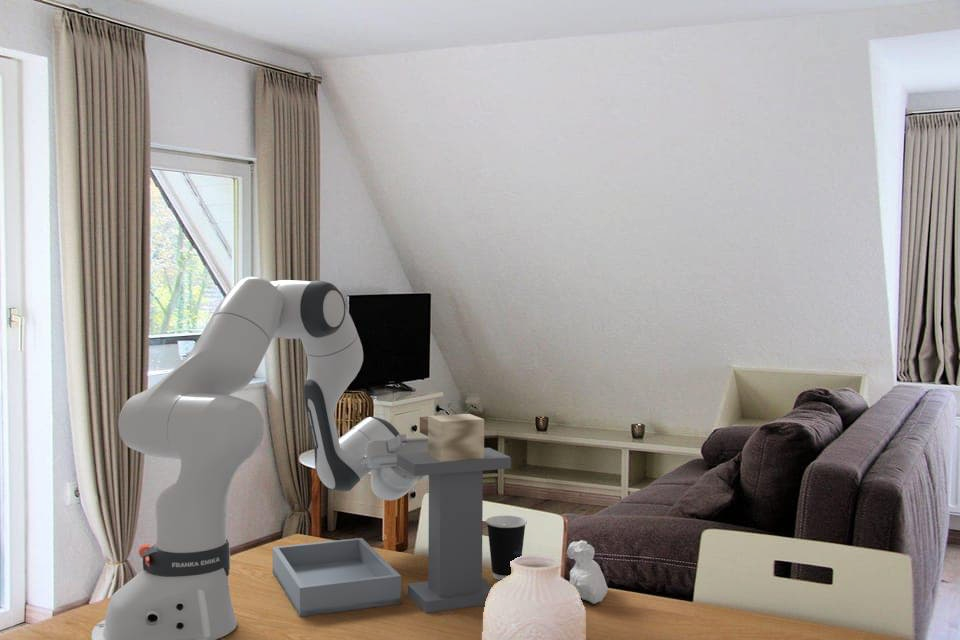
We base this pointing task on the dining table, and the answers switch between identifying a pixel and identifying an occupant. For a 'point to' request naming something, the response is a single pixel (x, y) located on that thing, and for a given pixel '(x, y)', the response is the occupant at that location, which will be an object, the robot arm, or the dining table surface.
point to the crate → (335, 576)
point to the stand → (453, 529)
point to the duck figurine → (586, 572)
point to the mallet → (454, 436)
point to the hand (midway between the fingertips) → (426, 436)
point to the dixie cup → (505, 542)
